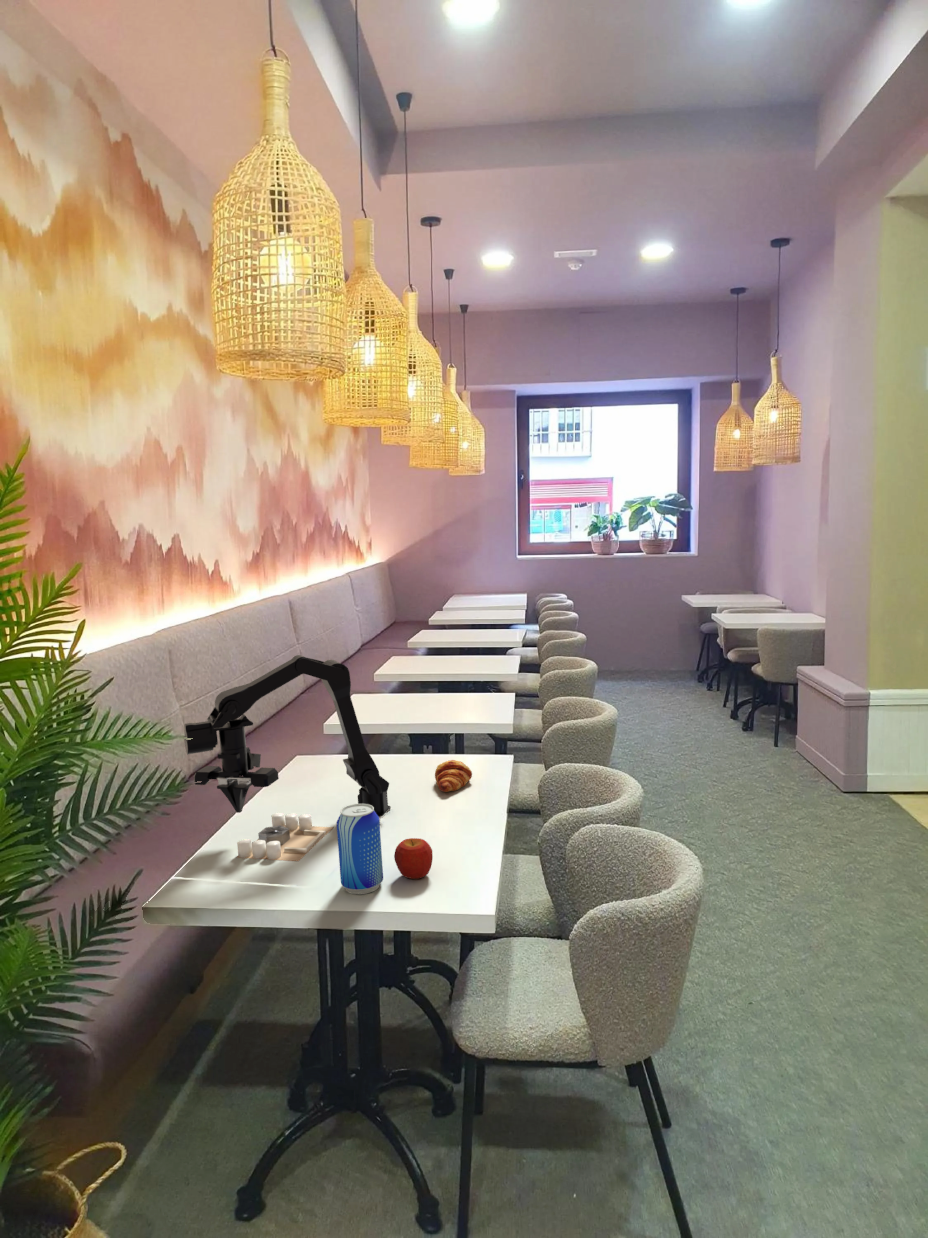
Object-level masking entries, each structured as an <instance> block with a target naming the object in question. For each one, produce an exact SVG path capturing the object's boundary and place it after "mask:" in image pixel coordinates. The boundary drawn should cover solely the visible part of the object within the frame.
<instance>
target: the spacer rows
mask: <svg viewBox="0 0 928 1238" xmlns="http://www.w3.org/2000/svg"><path fill="white" fill-rule="evenodd" d="M312 821H313V820H312V814H310V813H303V814H300V815H298V813H288V814H286V815H285V813H284V812H275V813H273V814H272V815H271V827H273V826H279V825H281V826H284V827H285V825H286V828H289V830H295V829H297V828H299V830H301V831H304V830H310V829H312V826H313V822H312ZM256 840H257V841H256ZM256 840H253V841H252V839H249V838H245V839H241V840H238V841H237V842H236V844H237V854H238V855H237V856H239V857H241V858H240V859H246V858H245V857H249V856H251V855H252V854H253V858H256V859H255V860H260V859H259V858H263V857H265V856H266V855H267V858H268V859H271V860H272V859H278V858H280V857H281V847H280V842H279V841H270V842H268V843H267V844H266V841H265V840H258V839H256ZM266 849H267V852H266ZM268 859H267V860H268ZM271 860H270V861H271ZM272 861H273V860H272Z"/></svg>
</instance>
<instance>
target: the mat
mask: <svg viewBox="0 0 928 1238" xmlns="http://www.w3.org/2000/svg"><path fill="white" fill-rule="evenodd" d="M285 827H286V824H285ZM333 829H334V827H332V826H316V825H314V826H313V825H312V829H310V830H304V831H301V830H299V828H297V829H295V830H289V832H290V839H289V840H288V841H287V842H286V843H285V844H284V845H280V847H281V857H280V858H278V859H272V861H287V862H300V860H302V859H303V858H304V857H305V856H306V855H307V854H308V853H309V852H310V851H312V849H313V848H314V847H315V846H317V844H318V843H319V842H321V841H322V840H323V838H325V837H326V835H327V834H329V832H331V831H333ZM257 840H259V838H258V839H256V840H255V841H257ZM266 852H267V849H266ZM235 858H237V859H239V858H240V859H242V858H241V857H239V856H238V855H237V856H236V857H235ZM244 859H251V860H252V859H253V860H254V859H255V860H257V859H256V858H253V854H252V855H251V856H249V857H245V858H244ZM258 860H267V861H268V860H269V861H271V859H268V858H267V855H266V856H265V857H263V858H259V859H258Z"/></svg>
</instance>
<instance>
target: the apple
mask: <svg viewBox="0 0 928 1238" xmlns="http://www.w3.org/2000/svg"><path fill="white" fill-rule="evenodd" d="M393 856H394V858H393V859H394V863H395V865H396V867H397V869H398V871H399V873H400V874H401V876H402V877H405V878H407V879H412V880H416V879H417V880H418V879H422V878H424V877H425V876H426V877H427V875H428V874H429V873H430V870H431V869H432V864H433V857H434V856H433V848H432V847H431V845H430V843H428V842H427V841H426V840H425V839H423V838H415V837H414V838H405V839H404V840H402V841H400V842H399V843H398V844H397V846H396V847H395V851H394V855H393Z"/></svg>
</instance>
